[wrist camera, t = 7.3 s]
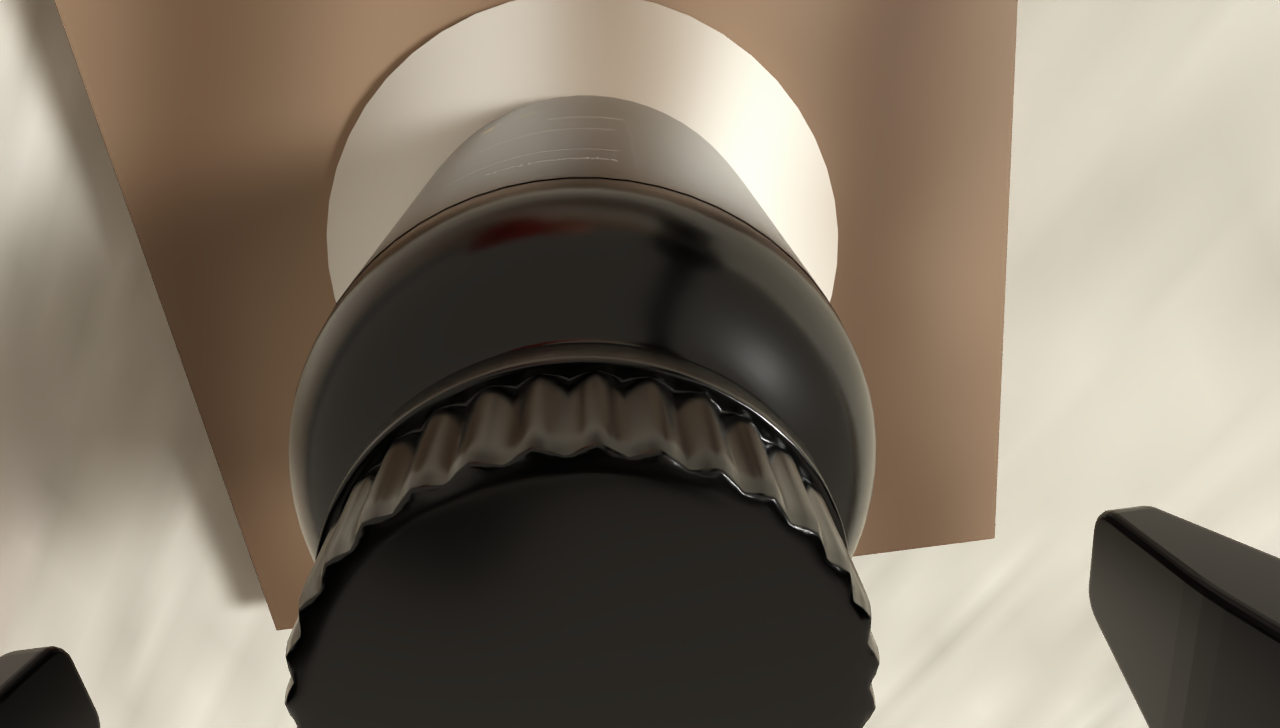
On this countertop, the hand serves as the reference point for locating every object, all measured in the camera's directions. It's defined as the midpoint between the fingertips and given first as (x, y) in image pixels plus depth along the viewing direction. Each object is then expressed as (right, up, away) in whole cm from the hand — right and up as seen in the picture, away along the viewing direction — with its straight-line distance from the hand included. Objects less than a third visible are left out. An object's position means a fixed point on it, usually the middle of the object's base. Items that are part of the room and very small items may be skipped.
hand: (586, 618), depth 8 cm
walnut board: (-1, +5, +12) cm, 13 cm away
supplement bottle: (-1, +4, +10) cm, 11 cm away
